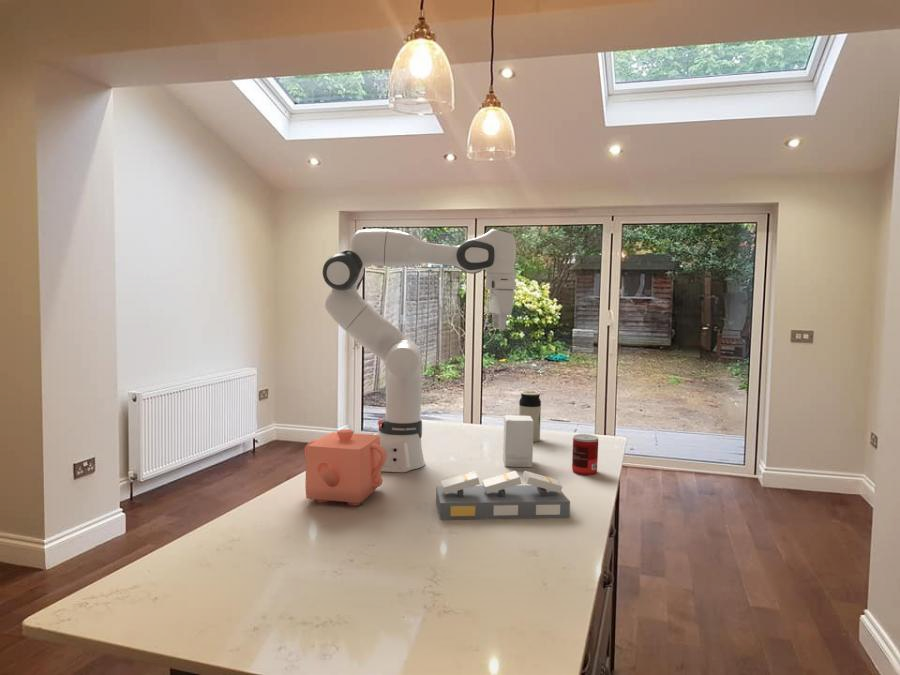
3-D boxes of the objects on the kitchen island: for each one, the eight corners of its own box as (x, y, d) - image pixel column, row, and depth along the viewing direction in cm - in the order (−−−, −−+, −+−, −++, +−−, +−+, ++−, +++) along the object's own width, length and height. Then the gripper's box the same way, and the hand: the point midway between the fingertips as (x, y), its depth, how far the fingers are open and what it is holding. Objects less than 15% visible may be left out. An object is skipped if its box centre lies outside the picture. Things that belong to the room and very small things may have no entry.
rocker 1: (444, 494, 156) (442, 487, 155) (443, 487, 161) (441, 480, 161) (479, 484, 156) (477, 476, 156) (476, 477, 162) (474, 470, 162)
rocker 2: (487, 493, 157) (485, 486, 156) (483, 486, 162) (481, 479, 162) (521, 483, 157) (519, 476, 157) (517, 477, 163) (515, 470, 163)
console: (440, 519, 152) (440, 496, 152) (436, 501, 165) (436, 480, 165) (569, 517, 155) (570, 495, 155) (555, 499, 168) (556, 479, 168)
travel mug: (515, 440, 234) (516, 392, 233) (522, 436, 241) (524, 389, 240) (535, 443, 231) (536, 394, 229) (542, 439, 238) (544, 391, 236)
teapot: (365, 521, 150) (365, 447, 148) (277, 513, 154) (277, 441, 153) (395, 489, 174) (396, 426, 173) (318, 483, 179) (318, 421, 177)
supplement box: (532, 467, 199) (534, 420, 197) (504, 467, 199) (505, 420, 198) (529, 460, 208) (531, 415, 207) (502, 459, 208) (503, 414, 207)
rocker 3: (526, 483, 157) (529, 476, 157) (522, 477, 163) (524, 469, 163) (560, 493, 159) (562, 485, 158) (554, 486, 164) (556, 479, 164)
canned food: (595, 468, 199) (596, 434, 198) (598, 476, 191) (600, 440, 190) (570, 467, 199) (571, 433, 199) (573, 475, 192) (574, 439, 191)
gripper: (484, 283, 202) (483, 326, 203) (496, 282, 181) (494, 330, 182) (503, 284, 202) (502, 327, 203) (517, 283, 182) (516, 331, 183)
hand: (498, 328), depth 193 cm, fingers open, 8 cm apart
